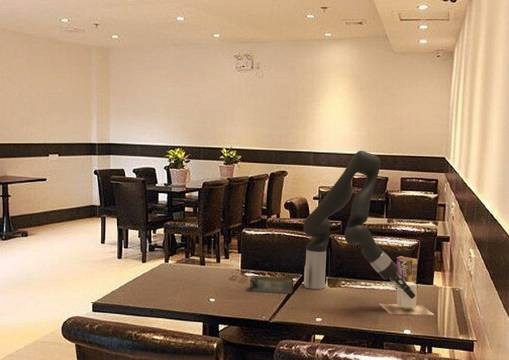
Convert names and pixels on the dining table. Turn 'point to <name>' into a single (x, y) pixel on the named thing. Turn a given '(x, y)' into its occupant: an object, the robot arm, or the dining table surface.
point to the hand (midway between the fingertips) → (410, 295)
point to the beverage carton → (271, 284)
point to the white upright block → (404, 299)
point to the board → (398, 310)
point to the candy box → (407, 269)
